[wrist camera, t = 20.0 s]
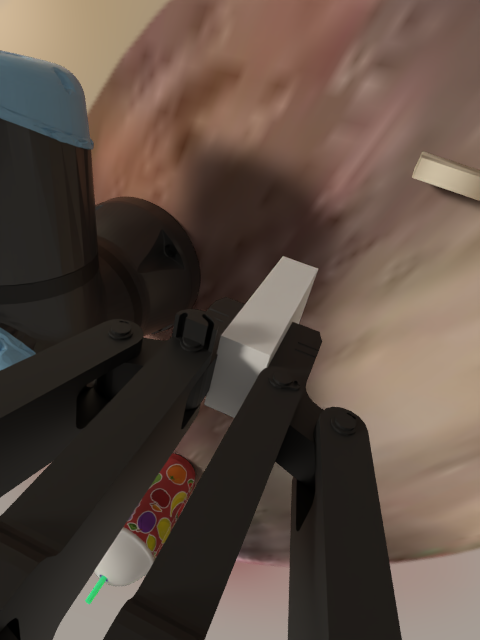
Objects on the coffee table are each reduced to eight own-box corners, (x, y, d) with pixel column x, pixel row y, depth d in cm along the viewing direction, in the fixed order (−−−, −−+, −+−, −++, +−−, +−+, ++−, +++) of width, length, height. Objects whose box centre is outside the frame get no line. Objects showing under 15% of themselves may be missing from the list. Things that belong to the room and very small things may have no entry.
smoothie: (162, 487, 68) (74, 618, 52) (144, 443, 65) (44, 568, 49) (211, 493, 64) (132, 636, 48) (194, 446, 61) (103, 583, 45)
